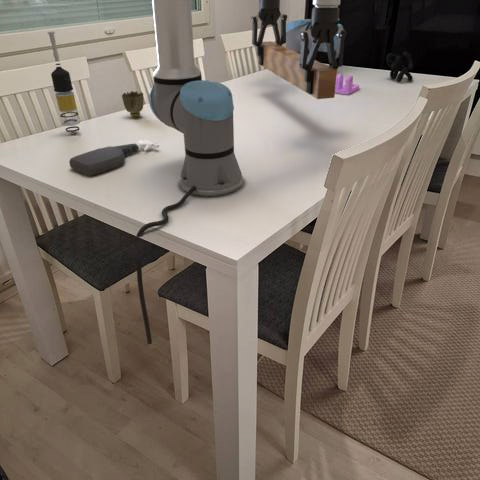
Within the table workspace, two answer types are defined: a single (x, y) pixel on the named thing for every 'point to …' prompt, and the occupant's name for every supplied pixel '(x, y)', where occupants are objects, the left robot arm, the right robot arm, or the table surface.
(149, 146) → the spray bottle
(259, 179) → the table surface
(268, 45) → the bar
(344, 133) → the table surface
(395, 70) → the squiggle
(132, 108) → the cup
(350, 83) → the bracket
